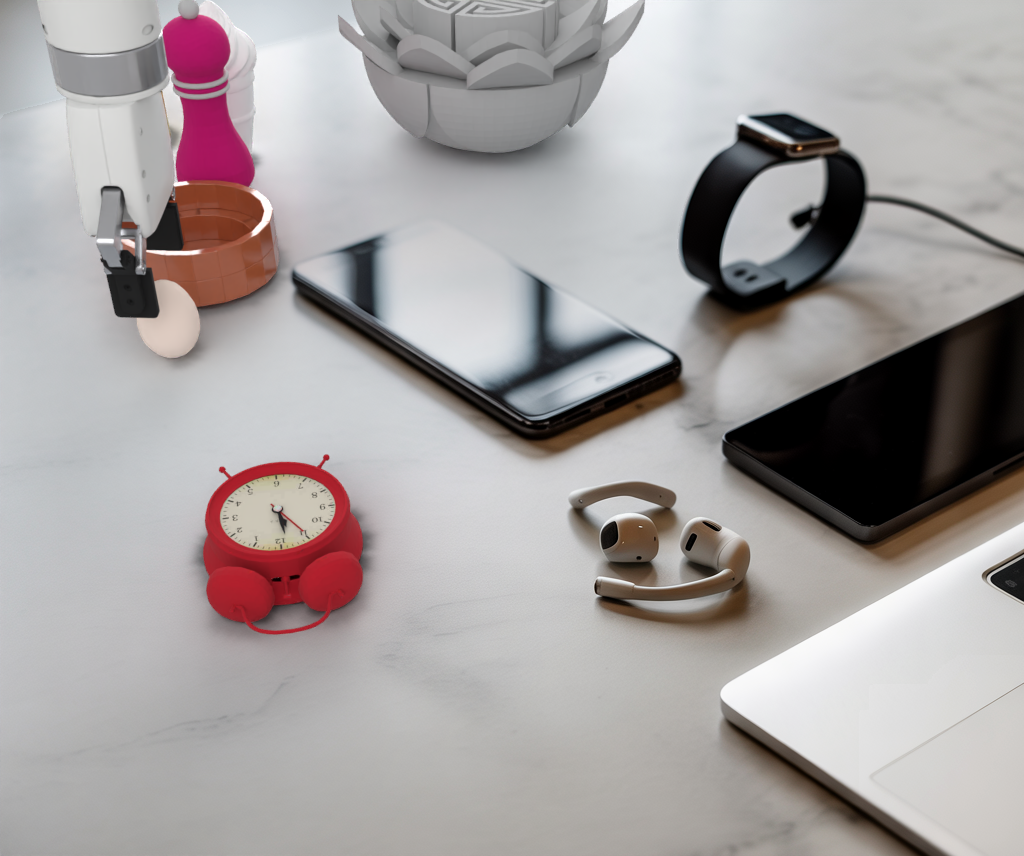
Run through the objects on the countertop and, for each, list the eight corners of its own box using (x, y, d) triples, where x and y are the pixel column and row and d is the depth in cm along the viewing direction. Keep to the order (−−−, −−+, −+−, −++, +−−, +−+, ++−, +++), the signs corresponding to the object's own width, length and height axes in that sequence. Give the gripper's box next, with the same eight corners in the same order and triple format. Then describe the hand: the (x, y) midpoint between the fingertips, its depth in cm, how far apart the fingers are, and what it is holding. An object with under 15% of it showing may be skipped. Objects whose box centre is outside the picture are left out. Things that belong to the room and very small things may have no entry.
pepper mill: (175, 205, 114) (133, -9, 101) (247, 190, 117) (215, -21, 103) (196, 237, 110) (155, 18, 96) (270, 221, 112) (241, 5, 99)
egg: (137, 370, 94) (120, 297, 89) (153, 336, 97) (137, 265, 93) (198, 372, 93) (183, 299, 89) (211, 338, 97) (198, 267, 93)
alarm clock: (348, 440, 81) (370, 548, 68) (357, 519, 84) (380, 636, 71) (194, 459, 80) (187, 573, 67) (209, 539, 83) (205, 663, 70)
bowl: (108, 313, 100) (93, 255, 96) (142, 234, 110) (130, 179, 106) (269, 312, 100) (260, 255, 96) (288, 234, 110) (281, 179, 107)
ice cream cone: (256, 184, 118) (232, 20, 107) (176, 177, 119) (145, 14, 108) (281, 148, 124) (261, -10, 113) (205, 141, 125) (178, -16, 114)
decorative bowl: (667, 105, 133) (681, -35, 123) (565, 218, 113) (572, 62, 103) (431, 59, 143) (426, -74, 133) (298, 156, 122) (280, 8, 112)
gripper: (84, 13, 86) (127, 224, 97) (16, 113, 73) (74, 343, 84) (188, 16, 86) (218, 227, 98) (138, 117, 73) (179, 345, 85)
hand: (151, 281), depth 91 cm, fingers open, 9 cm apart
